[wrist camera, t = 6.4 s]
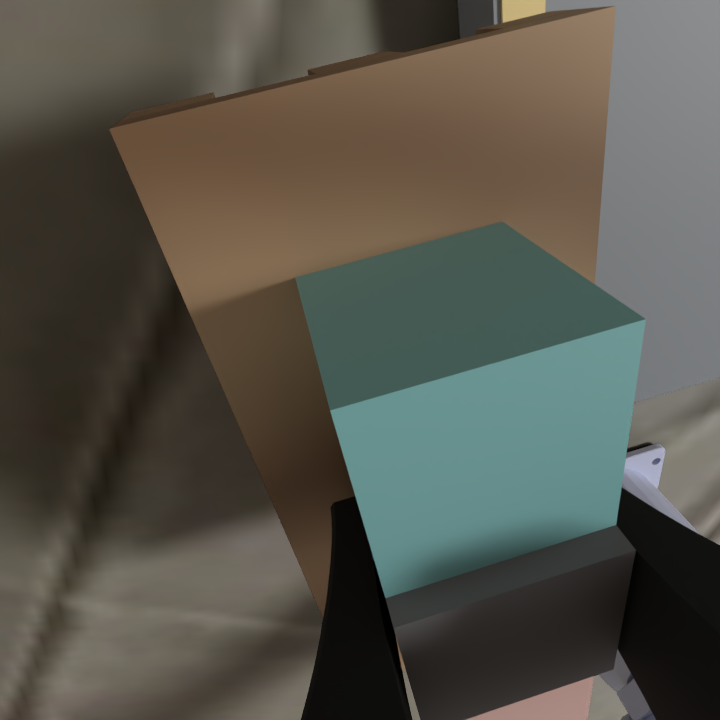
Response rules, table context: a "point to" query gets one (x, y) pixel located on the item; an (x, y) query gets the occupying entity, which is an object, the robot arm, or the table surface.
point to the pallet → (378, 236)
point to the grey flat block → (655, 176)
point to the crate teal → (474, 399)
